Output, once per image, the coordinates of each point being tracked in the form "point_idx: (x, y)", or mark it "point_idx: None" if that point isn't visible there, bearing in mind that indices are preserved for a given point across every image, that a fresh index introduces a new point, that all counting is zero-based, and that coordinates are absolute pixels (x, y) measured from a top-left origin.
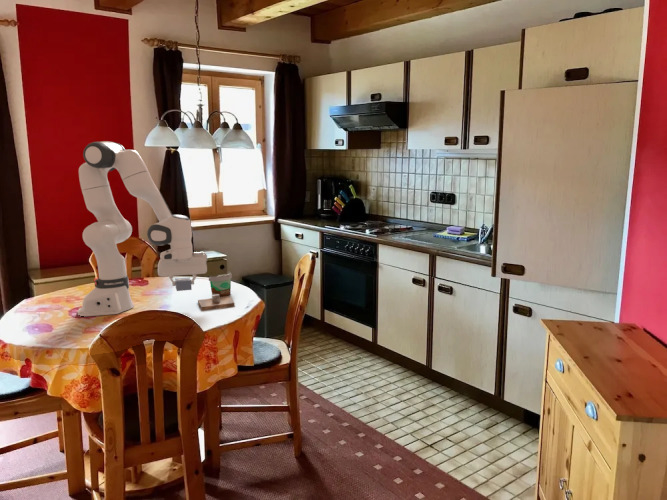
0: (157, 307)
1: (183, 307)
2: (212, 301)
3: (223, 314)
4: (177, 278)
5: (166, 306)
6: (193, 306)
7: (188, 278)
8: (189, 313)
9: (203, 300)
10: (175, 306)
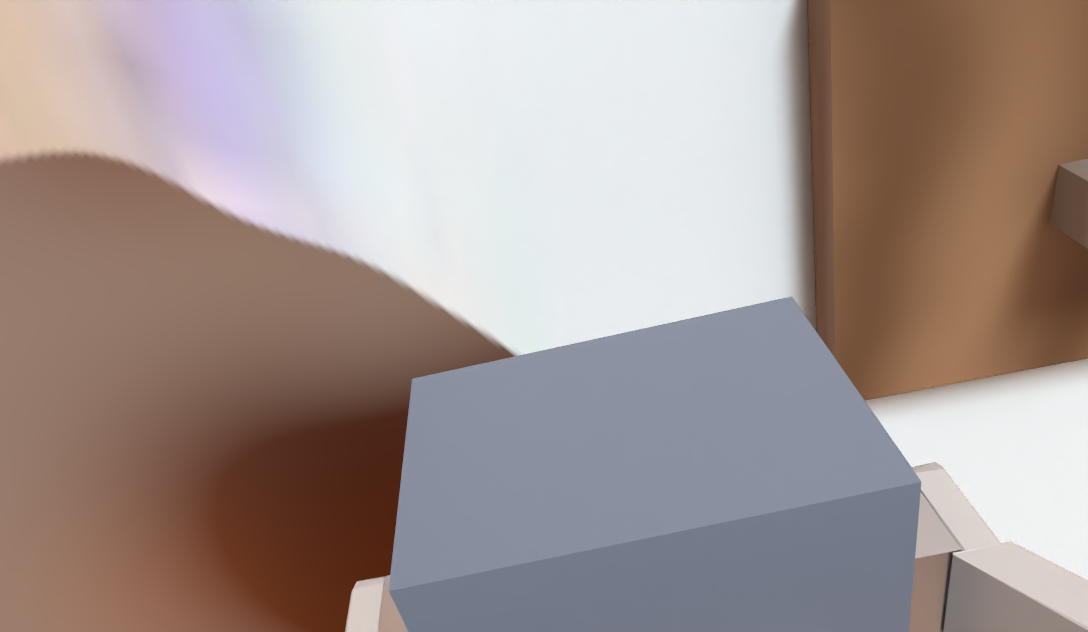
0: (66, 55)
1: (549, 170)
2: (1060, 178)
3: (1025, 548)
4: (476, 590)
5: (222, 28)
6: (711, 151)
7: (862, 596)
8: None
9: (928, 38)
10: (398, 72)
